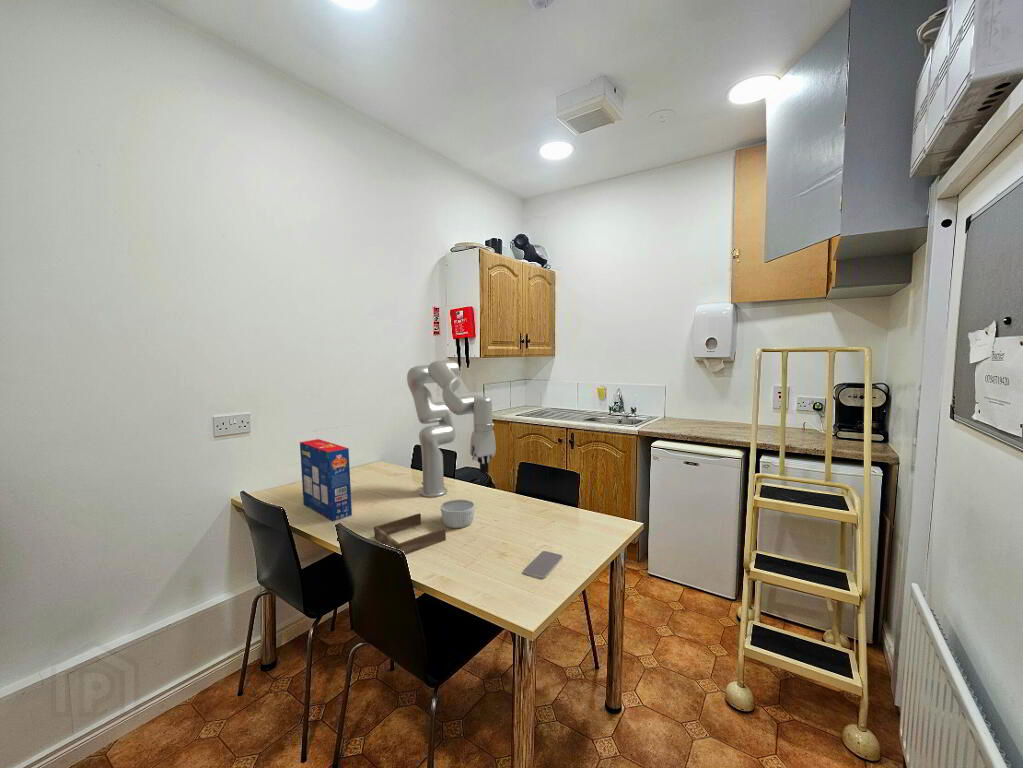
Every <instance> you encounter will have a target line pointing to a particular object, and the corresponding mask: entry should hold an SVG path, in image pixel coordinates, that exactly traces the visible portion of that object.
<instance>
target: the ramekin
mask: <svg viewBox="0 0 1023 768" xmlns="http://www.w3.org/2000/svg"><path fill="white" fill-rule="evenodd" d="M475 508H476V504H475V503H474V502H473V501H472V500H470V499H469V500H468V499H451V500H447V501H444V502H442V504H441V505H440V509H439V510H440V512H441V518H442V523H443V525H445V527H447V528H451V529H462V528H466V527H468V526H470V525H471V524H472V522H473V521H474V517H475V516H474V515H475Z"/></svg>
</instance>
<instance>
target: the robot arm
mask: <svg viewBox="0 0 1023 768" xmlns="http://www.w3.org/2000/svg"><path fill="white" fill-rule="evenodd" d="M459 375H460V366H459V364H458V363H457V362H456V361H454V360H450V359H449V360H435V361H433V362H431V363H430V364H429V365H428V364H427V365H416V366H413V367H411V368H410V369H409V370H408V371H407V374H406V383H407V386H408V388H409V391H410V393H411V396H412V398H413V404H414V407H415V411H416V414H417V415H416V416H417V420H418V421H419V422H420V423H421V424H423V425H427V424H429V426H425V427H423V428H422V429H421V430H420V431H419V433H418V441H419V443H420V449H421V462H422V464H421V466H422V482H421V485H422V488H421V489H420V491H419V494H420V496H421V497H425V498H426V497H427V498H435V497H440V496H444V495H445V494H447V493H448V488H447V487H445V486H444V484H445V483H444V481H445V480H444V454H443V453H442V451H441V450H440V447H439V446H441V445H443V446H444V445H446V444H451V443H452V442H454V440H455V439H456V428H455V425H454V421H453V416H452V414H453V415H456V416H465V415H471V414H473V416H472V417H473V431H472V432H471V436H470V444H469V445H470V446H469V448H470V449H469V451H470V452H469V453H470V456H471V457H472V458H471V459H472V461H475V462H478V463H479V472H480V473H482V474H488V473H489V463H490V460H491V459H492V458H493V457H495V456H496V452H497V445H496V444H497V443H496V435H495V431H494V430H493V429H494V428H493V427H494V426H495V424H494V422H493V400H492V398H491V397H489V396H481V395H478V394H473V395H472V394H471V395H462V396H461V395H460V396H458V395H457V394H455V392H456V391H457V390H458V389H459V387H460V386H461V379H460V378H459V377H458V376H459ZM433 383H434V384H435V383H436V384H437V385H438V386H439V387H440V388H441V390H442V395H441V396H442V399H443V400H442V401H436V402H435V401H434V400H433V397H432V392H431V391H430V389H428V387H427V386H426V385H425V384H433ZM435 423H438V424H435ZM430 424H435V425H430Z"/></svg>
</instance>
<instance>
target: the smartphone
mask: <svg viewBox="0 0 1023 768" xmlns="http://www.w3.org/2000/svg"><path fill="white" fill-rule="evenodd" d="M562 560H563V554H559V553H554V552H551V551H546V550H542V551H541V552H540V553H539V554H538V555H537V556H536V557H535V558H534V559H533V560H532V561H530V563H528V565H526V566H525V567H524V568H523V570H522V573H523V574H524V575H525V576H530V577H533V578H537V579H540V580H545V579H546V578H547V577H548V575H550V573H551V572H552V571H553V570H554V569H555V568H556V566H558V564H559V563H560V561H562Z"/></svg>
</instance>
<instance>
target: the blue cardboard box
mask: <svg viewBox="0 0 1023 768" xmlns="http://www.w3.org/2000/svg"><path fill="white" fill-rule="evenodd" d="M299 451H300V452H299V453H300V465H301V466H300V468H301V469H300V470H301V483H302V500H303V506H305V507H307V508H308V507H309V509H311V511H314V512H316V513H317V514H319V515H321V516H322V517H324V518H326V519H328V520H330V521H331V522H336V521H339V520H341V519H344V518H348V517H351V516H353V511H352V510H353V508H352V492H351V487H352V486H351V472H350V471H351V470H350V453H349V451H350V449H349V447H346V446H342V445H339V444H335V443H332V442H329V441H326V440H322V439H319V438H316V439H310V440H304V441H300V442H299Z"/></svg>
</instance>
